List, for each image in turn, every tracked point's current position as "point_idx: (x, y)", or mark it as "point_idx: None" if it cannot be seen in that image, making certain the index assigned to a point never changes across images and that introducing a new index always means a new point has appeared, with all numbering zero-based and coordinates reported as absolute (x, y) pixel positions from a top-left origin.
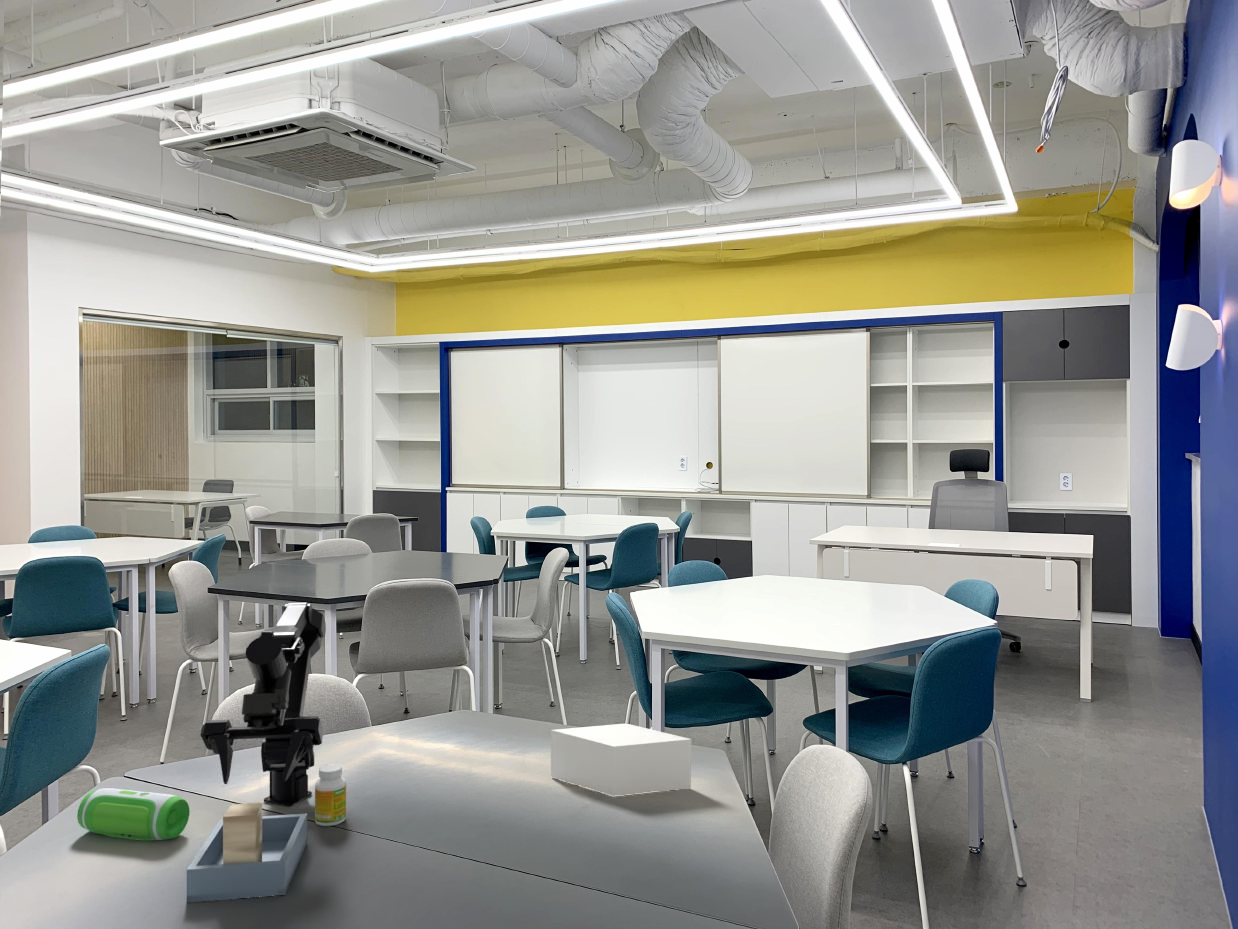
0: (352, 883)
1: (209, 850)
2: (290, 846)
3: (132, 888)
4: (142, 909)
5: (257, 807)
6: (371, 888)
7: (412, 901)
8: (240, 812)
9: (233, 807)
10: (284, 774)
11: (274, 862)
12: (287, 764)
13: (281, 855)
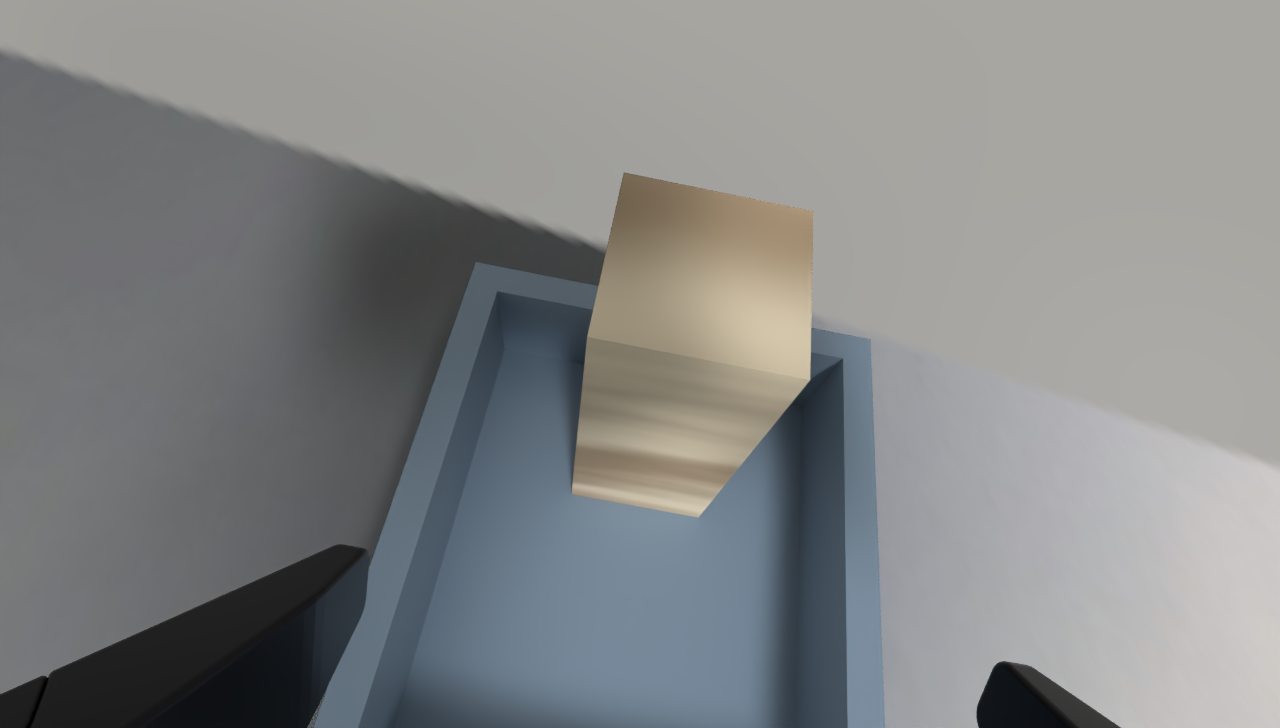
0: (228, 341)
1: (834, 567)
2: (434, 408)
3: (1058, 582)
4: (947, 406)
5: (616, 266)
6: (174, 284)
7: (79, 166)
8: (718, 230)
9: (781, 319)
10: (336, 562)
11: (519, 279)
12: (232, 623)
13: (479, 643)
